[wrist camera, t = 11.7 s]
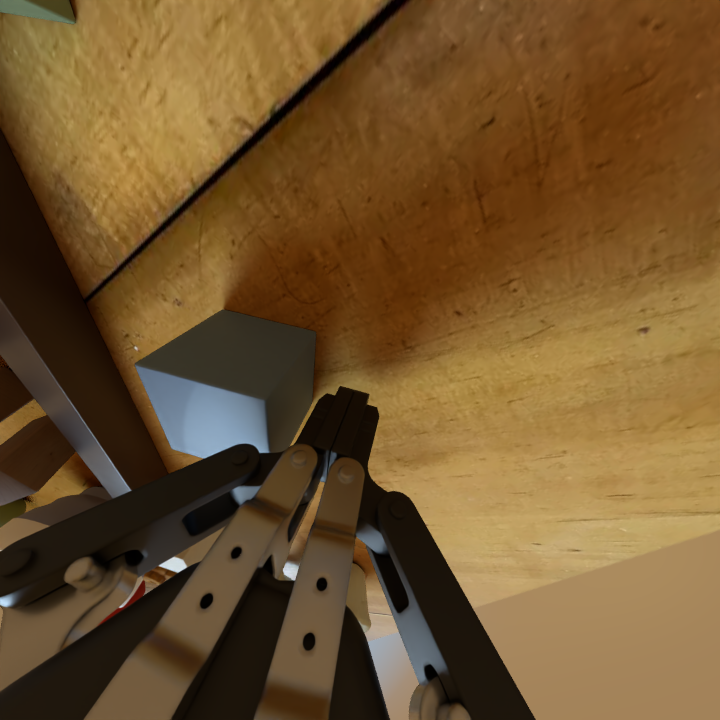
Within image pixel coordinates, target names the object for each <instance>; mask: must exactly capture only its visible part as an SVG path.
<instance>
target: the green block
mask: <svg viewBox="0 0 720 720" xmlns="http://www.w3.org/2000/svg"><path fill="white" fill-rule="evenodd" d="M0 12H3V13H9V14H15V15H21V16H27V17H33V18H40V19H46V20H52V21H58V22H64V23H70V24H75V23H76V22H75V17H74V14H73V11H72V8H71V4H70V1H69V0H0Z"/></svg>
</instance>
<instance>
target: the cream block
mask: <svg viewBox="0 0 720 720" xmlns="http://www.w3.org/2000/svg"><path fill="white" fill-rule="evenodd" d="M224 528H225V527H223V528H222V529H220V530H218V531H217V532H215V533H213V534H211V535H210V536H208V537H206V538H205V539H203V540H201V541H200V542H198V543H196V544H195V545H193V546H191V547H189V548H188V549H186V550H184V551H183V552H181V553H179V554H178V555H176V556H174V557H173V558H171V559H169V560H168V561H166V562H164V563H162V564H161V565H159V566H160V567H163V568H166V569H169V570H172V571H175V572H177V573H178V572H180V571H182V570H183V569H185V568H187V567H189V566H191V565H192V564H195V563H197V562H200V561H202V559H203V558H204V556H205V555H206V554H207V552H208V551H209V549H210V548H211V546H212V545H213V543H214V542H215V541H216V539H217V538H218V536H219V535H220V533H221V532H222V530H223V529H224Z"/></svg>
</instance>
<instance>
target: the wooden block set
mask: <svg viewBox="0 0 720 720" xmlns="http://www.w3.org/2000/svg"><path fill="white" fill-rule="evenodd" d="M33 399H35V398H34V397H33V396H32V395H31V393H30V392H29V391H28V389H27V388H26V387H25V386H24V384H23V383H22V382H21V381H20V379H19V378H18V377H17V375H15V374H14V373H13V372H12V371H10V370H9V369H8V368H6V367H0V422H2V421H3V420H5V419H6V418H7V417H9V416H10V415H12V414H13V413H15V412H16V411H17V410H19V409H20V408H22V407H23V406H25V405H26V404H27V403H29V402H30V401H32V400H33ZM75 452H76V451H75V449H74V448H73V447H72V446H71V444H70V443H69V442H68V440H67V439H66V438H65V437H64V435H63V434H62V433H61V432H60V430H59V429H58V428H57V426H56V425H55V424H54V423H53V421H52V420H51V419H50V418H49V416H48V415H46V416H43V417H41V418H38V419H35V420H33V421H31V422H30V423H29V424H27V425H26V426H25V427H23V428H22V429H21V430H20V431H18V432H17V433H16V434H14V435H13V436H12V437H11V438H9V439H8V440H7V441H5V442H4V443H3V444H2V445H0V506H2V505H5V504H7V503H10V502H13V501H15V500H18V499H21V498H23V497H26V496H29V495H31V494H34V493H36V492H38V491H39V490H40V489H41V488H42V487H43V486H44V485H45V483H46V482H47V481H48V480H49V479H50V478H51V477H52V476H53V475H54V474H55V473H56V472H57V471H58V470H59V469H60V468H61V466H62V465H63V464H64V463H65V462H66V461H67V460H68V459H69V458H70V457H71V456H72V455H73V454H74V453H75Z"/></svg>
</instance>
